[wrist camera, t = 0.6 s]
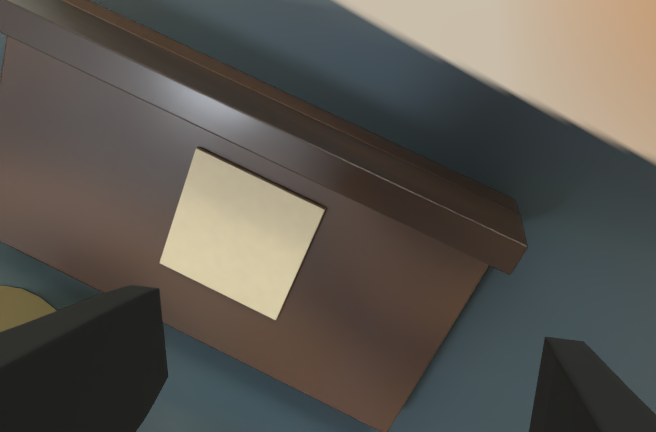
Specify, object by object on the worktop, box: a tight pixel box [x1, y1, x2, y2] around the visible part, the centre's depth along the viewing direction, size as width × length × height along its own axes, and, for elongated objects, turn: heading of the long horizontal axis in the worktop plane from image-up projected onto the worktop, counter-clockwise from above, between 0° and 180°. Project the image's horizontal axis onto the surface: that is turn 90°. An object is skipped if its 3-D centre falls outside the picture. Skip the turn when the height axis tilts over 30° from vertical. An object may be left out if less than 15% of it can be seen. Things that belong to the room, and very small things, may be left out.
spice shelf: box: [0, 0, 528, 432], centre depth 20 cm, size 10×18×4 cm, turn 68°
